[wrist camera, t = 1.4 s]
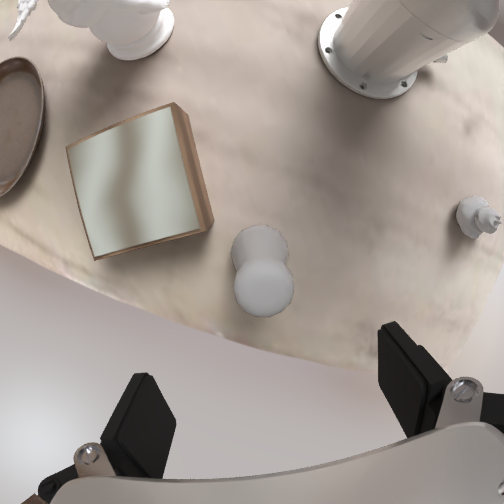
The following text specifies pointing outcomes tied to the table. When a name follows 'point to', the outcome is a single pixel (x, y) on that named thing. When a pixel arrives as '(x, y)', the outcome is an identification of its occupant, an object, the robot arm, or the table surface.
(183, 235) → the square box
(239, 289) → the salt shaker
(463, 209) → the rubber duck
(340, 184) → the table surface
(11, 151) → the plant saucer
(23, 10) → the cherub figurine
